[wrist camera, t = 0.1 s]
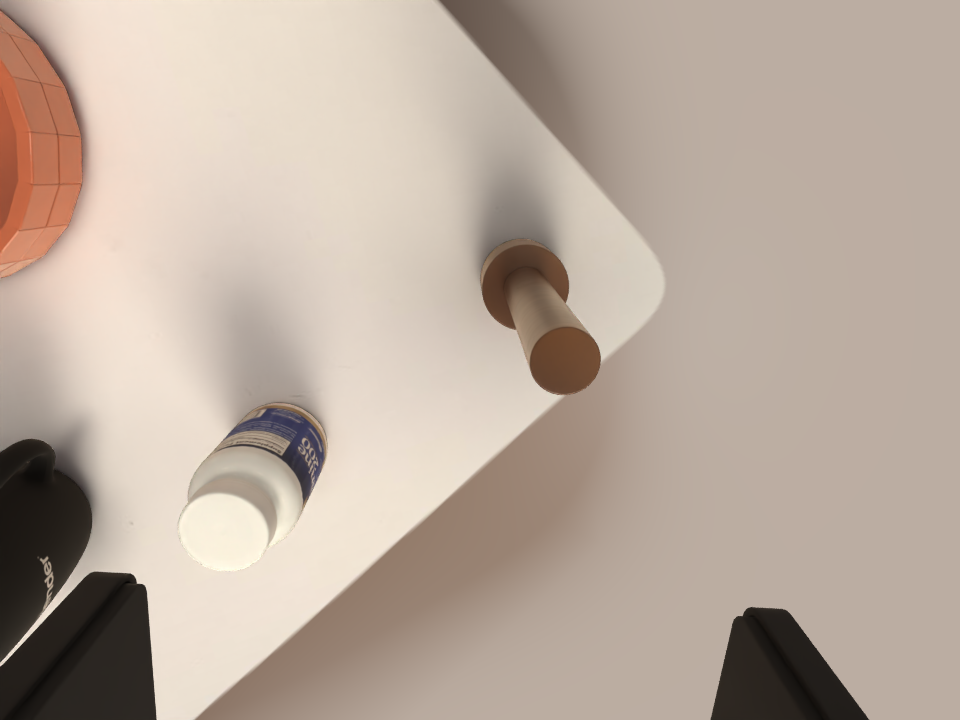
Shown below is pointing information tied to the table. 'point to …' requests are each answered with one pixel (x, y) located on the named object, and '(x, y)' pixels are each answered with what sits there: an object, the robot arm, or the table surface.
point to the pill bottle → (252, 487)
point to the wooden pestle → (540, 314)
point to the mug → (36, 535)
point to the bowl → (33, 152)
